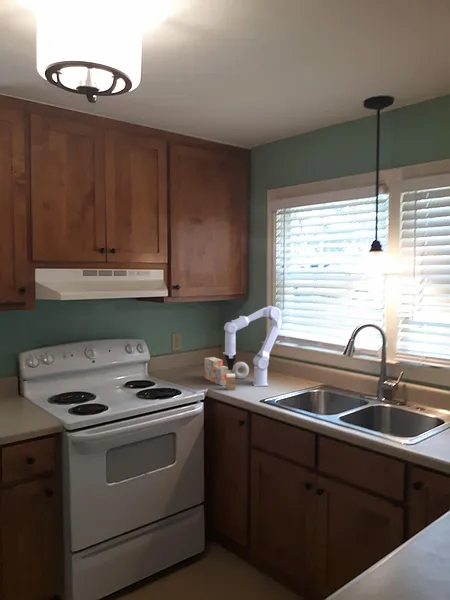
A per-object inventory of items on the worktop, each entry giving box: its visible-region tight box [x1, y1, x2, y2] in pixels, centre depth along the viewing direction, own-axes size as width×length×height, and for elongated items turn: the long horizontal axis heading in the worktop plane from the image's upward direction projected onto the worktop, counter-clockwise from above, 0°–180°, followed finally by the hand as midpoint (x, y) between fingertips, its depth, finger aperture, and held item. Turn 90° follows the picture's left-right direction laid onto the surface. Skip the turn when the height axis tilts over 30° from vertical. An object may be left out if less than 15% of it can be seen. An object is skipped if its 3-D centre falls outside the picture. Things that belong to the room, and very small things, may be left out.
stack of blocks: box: [203, 356, 232, 386], centre depth 290 cm, size 21×6×12 cm, turn 27°
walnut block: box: [225, 373, 236, 391], centre depth 272 cm, size 4×4×8 cm
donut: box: [231, 361, 250, 380], centre depth 297 cm, size 10×3×10 cm, turn 101°
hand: (230, 369), depth 278 cm, fingers open, 4 cm apart
